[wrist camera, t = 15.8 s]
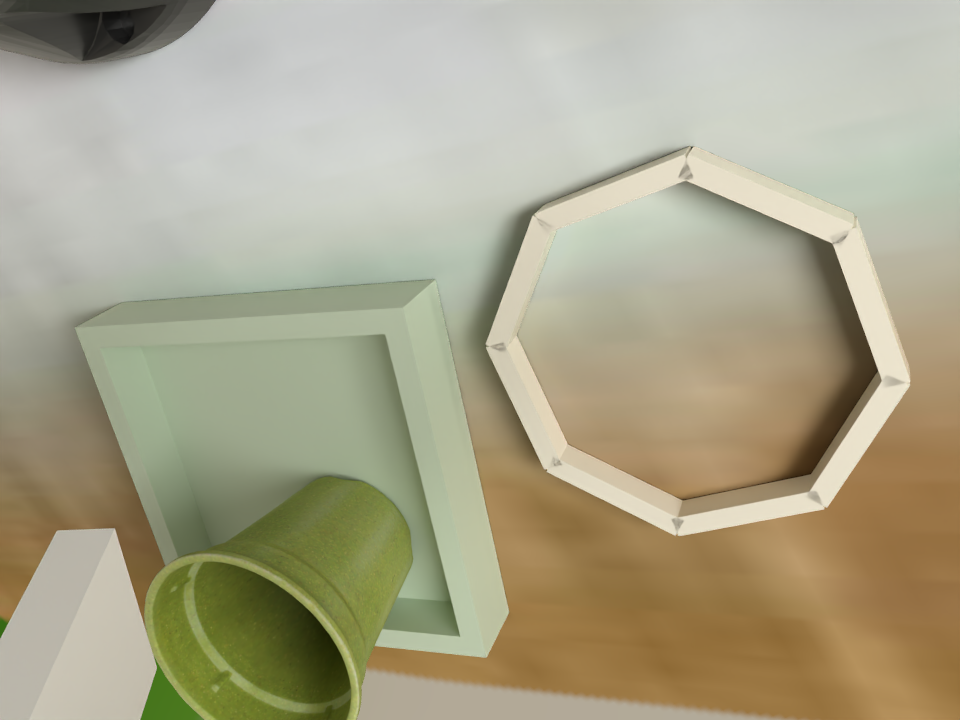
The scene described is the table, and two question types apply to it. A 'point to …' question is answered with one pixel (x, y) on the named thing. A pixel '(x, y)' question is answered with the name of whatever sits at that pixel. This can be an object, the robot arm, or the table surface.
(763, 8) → the table surface
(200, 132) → the table surface
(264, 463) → the tray
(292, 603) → the plant pot
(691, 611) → the table surface
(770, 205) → the collar ring
